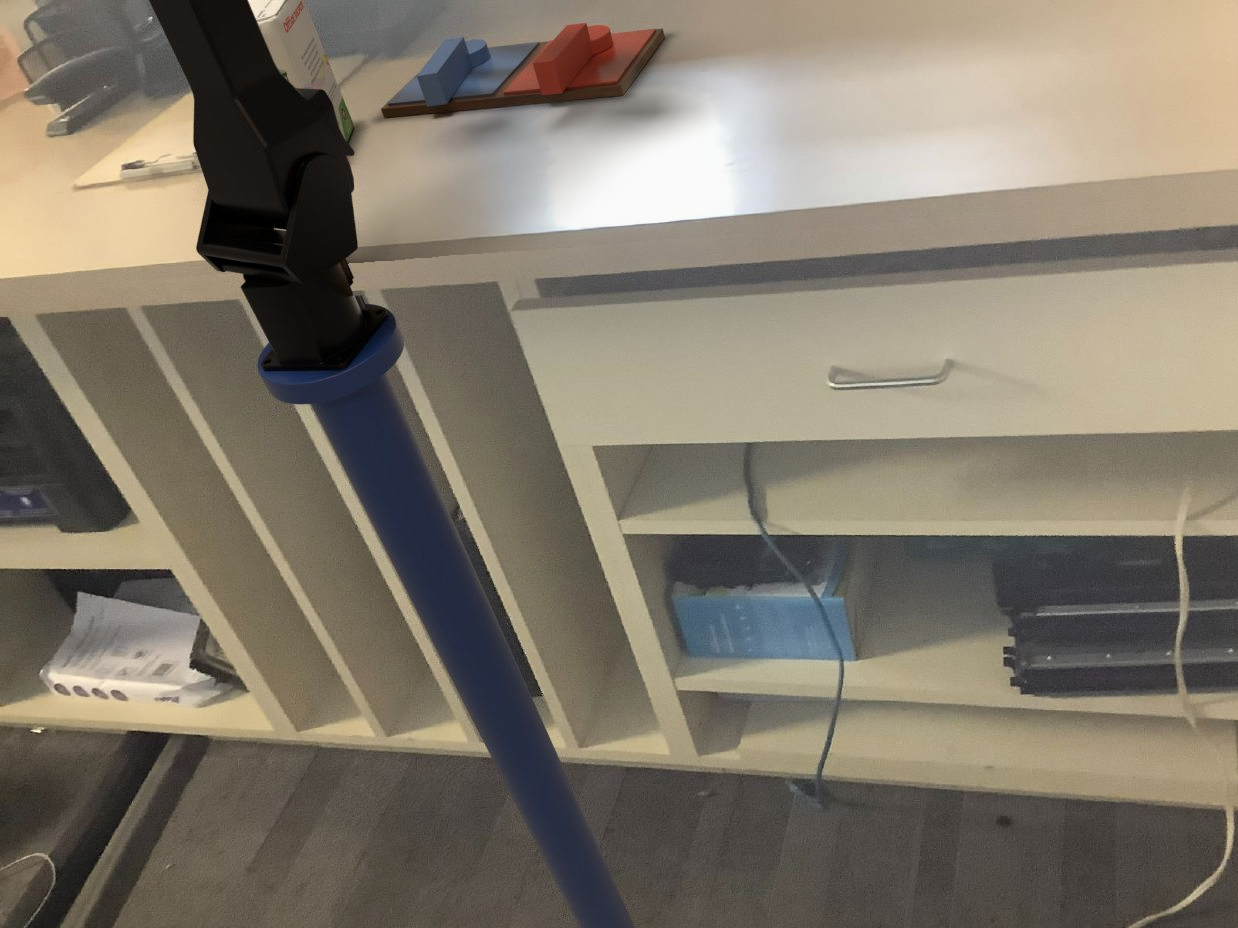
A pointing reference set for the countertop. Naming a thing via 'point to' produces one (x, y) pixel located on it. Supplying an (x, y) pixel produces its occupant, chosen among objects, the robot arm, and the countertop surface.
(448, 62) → the blue rounded tab block
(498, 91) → the sorting board
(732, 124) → the countertop surface
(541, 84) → the red stepped handle block
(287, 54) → the ink box
